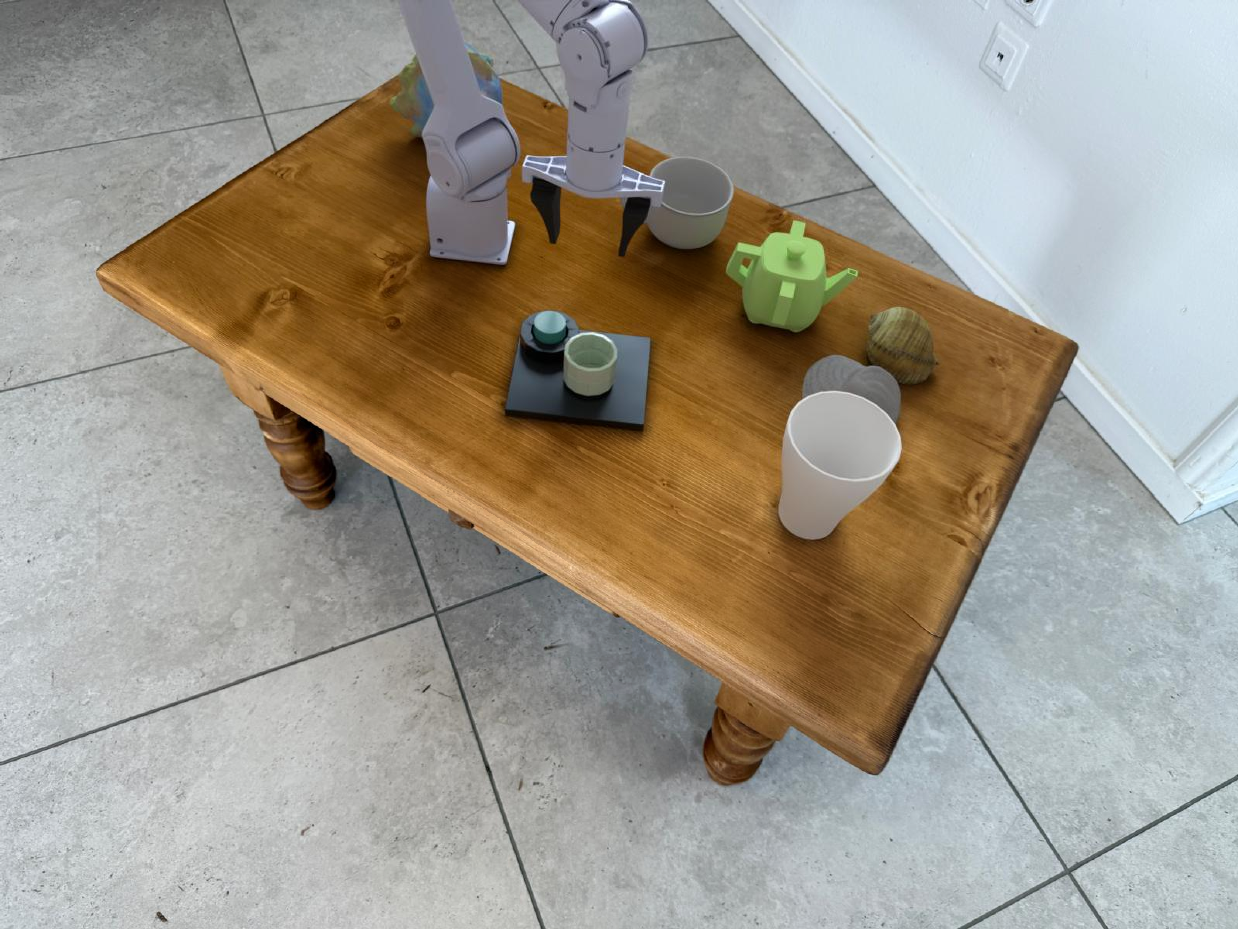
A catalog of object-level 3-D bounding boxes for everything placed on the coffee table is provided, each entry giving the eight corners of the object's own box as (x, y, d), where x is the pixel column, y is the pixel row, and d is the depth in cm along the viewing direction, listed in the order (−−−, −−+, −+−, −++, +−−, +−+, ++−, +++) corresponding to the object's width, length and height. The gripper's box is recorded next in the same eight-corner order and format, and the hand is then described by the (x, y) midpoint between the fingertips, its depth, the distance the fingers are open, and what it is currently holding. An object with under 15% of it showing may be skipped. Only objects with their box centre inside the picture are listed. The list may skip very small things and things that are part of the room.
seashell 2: (914, 391, 108) (953, 334, 105) (921, 400, 101) (963, 339, 99) (845, 350, 108) (882, 293, 106) (847, 356, 102) (887, 295, 99)
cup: (831, 465, 95) (870, 382, 84) (875, 547, 89) (922, 469, 78) (741, 483, 92) (769, 400, 82) (779, 569, 87) (815, 492, 76)
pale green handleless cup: (553, 385, 97) (554, 357, 93) (579, 353, 100) (581, 324, 96) (598, 406, 96) (600, 378, 92) (623, 373, 99) (626, 345, 95)
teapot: (769, 355, 104) (789, 293, 96) (711, 295, 109) (726, 232, 101) (843, 321, 108) (868, 260, 100) (785, 265, 113) (804, 202, 105)
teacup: (724, 213, 119) (735, 161, 112) (722, 267, 112) (733, 215, 106) (621, 200, 119) (626, 147, 112) (613, 253, 112) (618, 201, 106)
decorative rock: (467, 59, 107) (498, 5, 117) (352, 76, 112) (390, 23, 121) (503, 162, 118) (528, 104, 127) (396, 174, 122) (428, 117, 131)
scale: (504, 416, 95) (504, 398, 93) (523, 325, 103) (522, 307, 101) (643, 431, 96) (645, 414, 93) (650, 340, 104) (653, 321, 101)
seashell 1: (795, 372, 102) (788, 429, 95) (816, 336, 98) (810, 392, 91) (888, 406, 103) (888, 465, 96) (912, 372, 99) (914, 431, 92)
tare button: (531, 342, 98) (531, 331, 97) (535, 320, 100) (536, 308, 99) (563, 346, 98) (564, 335, 97) (567, 323, 101) (568, 312, 99)
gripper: (675, 125, 88) (659, 233, 99) (533, 99, 89) (533, 209, 100) (664, 166, 84) (649, 275, 95) (516, 139, 85) (517, 249, 96)
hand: (588, 244), depth 97 cm, fingers open, 7 cm apart
